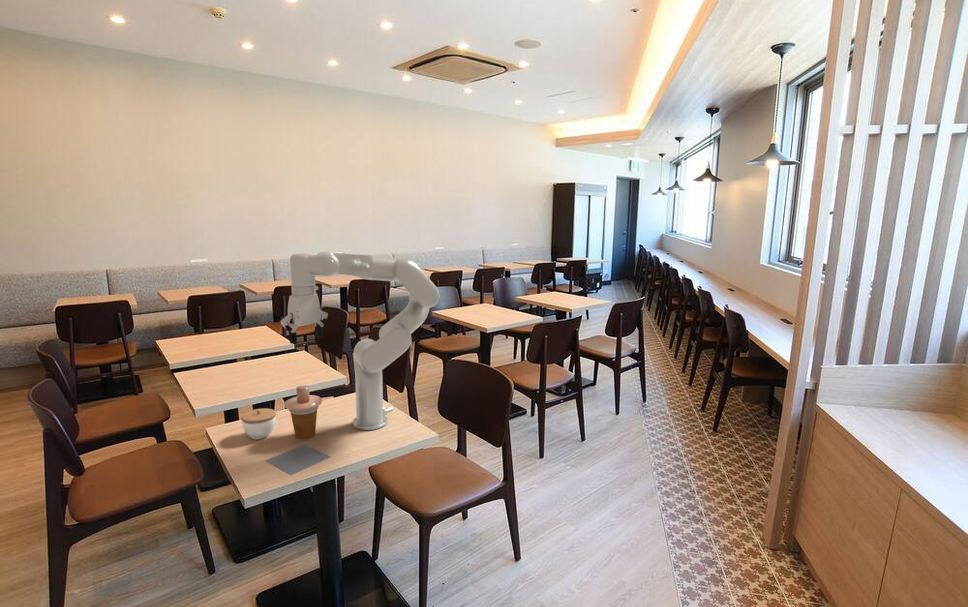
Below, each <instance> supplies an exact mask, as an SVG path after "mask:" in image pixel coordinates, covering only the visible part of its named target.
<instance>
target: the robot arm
mask: <svg viewBox="0 0 968 607" xmlns="http://www.w3.org/2000/svg"><path fill="white" fill-rule="evenodd" d="M289 264H290V266H289V267H290V284H291V295H289V299H288V304H287V315H286V316H285V317H283V318H282V319H281V320H280V324H281V326H282V327H283V329H284V330H285V331H286V332H288V340H289V344H292V345H297V344H298V337H297V336H298V335H297V332H296V331H297V329H298V328H299V327H302V326H308V325H313V324H314V337H315V338H316V339H320V340H321V339H323V327H324V324H325V323H326V322H327V319H328V316H329V314H328V312H326V311H323V310H321V304H320V300H319V296H318V293H317V291H319V286H318V285H316V276H322V277H331V276H334V275H335V274H337V275H347V276H353V277H356V278H360V279H363V280H369V281H383V282H398V283H401V285H403V287H404V288H405V290H407V292H408V293H409V301H408V302H407V305H406V307H404V309H403V310H402V311H400V312H399V313H398V314H396V315H395V316H394V317H393V318H391V319H390V320H389V321H387V322H386V323H385V324H383V326H381V328H380V329H379V331H378V337H379V339H377V340H374V339H371V338H363V339H361V340H360V341H358V342H357V343H356V344H355V347H354V348H353V365H354V375H355V377H354V379H355V407H356V408H355V409H356V410H355V411H356V417H355V418H354V419H353V420H352V421H351V422H352V423H351V424H352V426H353V427H354V428H355V429H356V430H361V431H375V430H378V429H381V428H383V427H385V426H386V425H387V424H388V420H389V419H388V417H387V416H386V415H387V414H390V413H392V412H393V411H394V409H393V407H392V406H389V407H385V406H384V399H383V398H384V397H383V395H384V392H383V391H384V390H383V370H384V369H385V368H387V367H388V366H390V364H392V363H394V361H395V360H397V359H398V358H400V356H402V355H403V354H404V353H405V352H406V351H407V350H409V348H410V346H411V343H412V334H413V333H414V332H415V331H416V330H417V329H418V328H419V327H420V326H421V325H422V324H423V323H424V322H425V321H426V319H427V318H428V314H429V312H430V308H433V307H435V306H436V305H437V304H438V303H439V301H440V290H439V288H438V287H437V286H436V285H435V284H434V282H433V281H432V280H431V279H430V278H429V276H428V275H426V273H425V272H424V271H423V270H422V269H421V268H420V267H419V266H418V264H416V262H415V261H412V260H410V259H406V258H403V257H394V256H393V257H391V256H381V255H372V254H353V253H345V252H333V251H332V252H331V251H322V252H321V251H320V252H318V253H317V254H311V253H294V254H292V255H291V256H290V258H289Z"/></svg>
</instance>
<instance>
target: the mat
mask: <svg viewBox="0 0 968 607" xmlns="http://www.w3.org/2000/svg"><path fill="white" fill-rule="evenodd" d="M330 458H331V455H329V454H327V453H325V452H322V451H320V450H318V449H317V448H314V447H313V446H310V445H308V444H305V443H304V444H302V445H299V446H297V447H294V448H291V449H290V450H287V451H284V452H282V453H279V454H277V455H274V456H273V457H270V458H268V459H265V460H264V461H265V462H267V463H268V464H270V465H272V466H273V467H276V468H277V469H279V470H281V471H282V472H284V473H287V474H288V475H290V476H292V475H295V474H296V473H299V472H301V471H303V470H305V469H308V468H310V467H312V466H314V465H316V464H318V463H320V462H323V461H325V460H328V459H330Z"/></svg>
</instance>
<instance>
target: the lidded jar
mask: <svg viewBox="0 0 968 607" xmlns="http://www.w3.org/2000/svg"><path fill="white" fill-rule="evenodd" d="M276 413H277V412H276V411H275V410H274V409H272V408H267V407H266V408H255V409H252V410H250V411H246V412H245V413H243V414H242V415H241V423H242V428H243V431H244V432H245V434H246V435H247V436H248V437H250V438H251V439H253V440H262V438H263V439H265V437H266V438H268V437H269V436H270V434H272V432H273V431H274V430H275V427H276V421H277V420H276V418H277V417H276V415H277V414H276Z"/></svg>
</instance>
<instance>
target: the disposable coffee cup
mask: <svg viewBox="0 0 968 607" xmlns="http://www.w3.org/2000/svg"><path fill="white" fill-rule="evenodd" d="M318 409H319V406H317V407H315V408H312V409H308V410H301V411H294V410H289V409H288V411H289V412H290V417H291V420H292V425H293V427H292V428H293V431H294V435H295V438H296V439H297V440H308V439H311V438H313V437H314V436H315V435H316V426H317V418H318V417H317V416H318Z"/></svg>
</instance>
